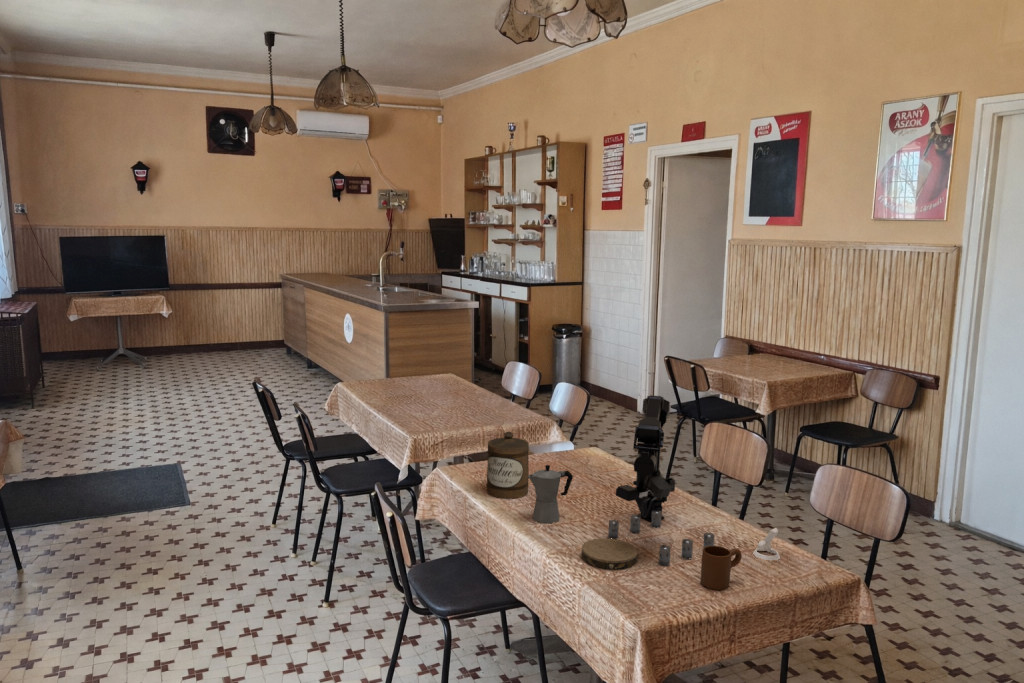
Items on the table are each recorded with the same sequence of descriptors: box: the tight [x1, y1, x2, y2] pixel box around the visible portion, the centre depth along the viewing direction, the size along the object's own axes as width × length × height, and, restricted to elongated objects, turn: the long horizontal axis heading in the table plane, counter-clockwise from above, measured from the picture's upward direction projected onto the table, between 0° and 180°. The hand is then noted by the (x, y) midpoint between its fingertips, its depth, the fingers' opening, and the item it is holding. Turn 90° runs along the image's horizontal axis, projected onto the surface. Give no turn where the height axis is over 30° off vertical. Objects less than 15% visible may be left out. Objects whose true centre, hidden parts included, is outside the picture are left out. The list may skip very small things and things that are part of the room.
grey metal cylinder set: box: [607, 509, 715, 567], centre depth 229 cm, size 25×21×5 cm
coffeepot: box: [528, 464, 573, 524], centre depth 247 cm, size 15×9×18 cm, turn 107°
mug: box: [700, 545, 743, 591], centre depth 204 cm, size 12×8×9 cm, turn 114°
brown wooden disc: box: [581, 537, 639, 571], centre depth 218 cm, size 16×16×3 cm
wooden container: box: [486, 431, 530, 499], centre depth 271 cm, size 15×15×22 cm
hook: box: [752, 527, 781, 561], centre depth 220 cm, size 8×12×7 cm
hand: (644, 516), depth 224 cm, fingers closed
